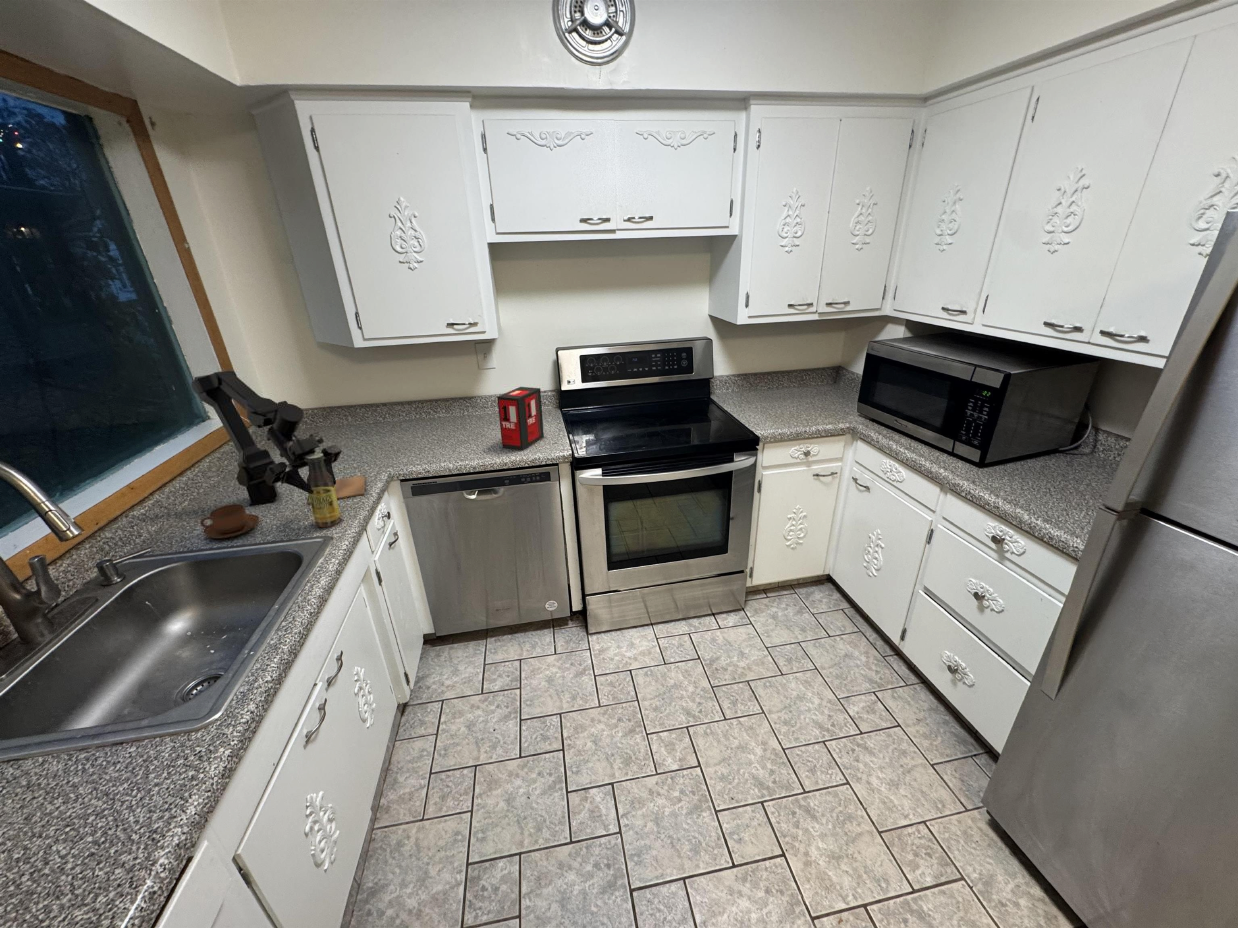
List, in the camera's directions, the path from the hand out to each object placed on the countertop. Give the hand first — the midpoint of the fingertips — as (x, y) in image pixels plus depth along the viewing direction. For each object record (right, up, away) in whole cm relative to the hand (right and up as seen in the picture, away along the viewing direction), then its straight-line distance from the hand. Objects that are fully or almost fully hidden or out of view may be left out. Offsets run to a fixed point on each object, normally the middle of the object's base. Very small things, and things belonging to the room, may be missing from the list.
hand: (323, 488), depth 133 cm
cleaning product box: (+41, +15, +64) cm, 78 cm away
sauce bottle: (-1, -10, +5) cm, 11 cm away
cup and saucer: (-25, -12, +1) cm, 27 cm away
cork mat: (-10, -2, +24) cm, 26 cm away
